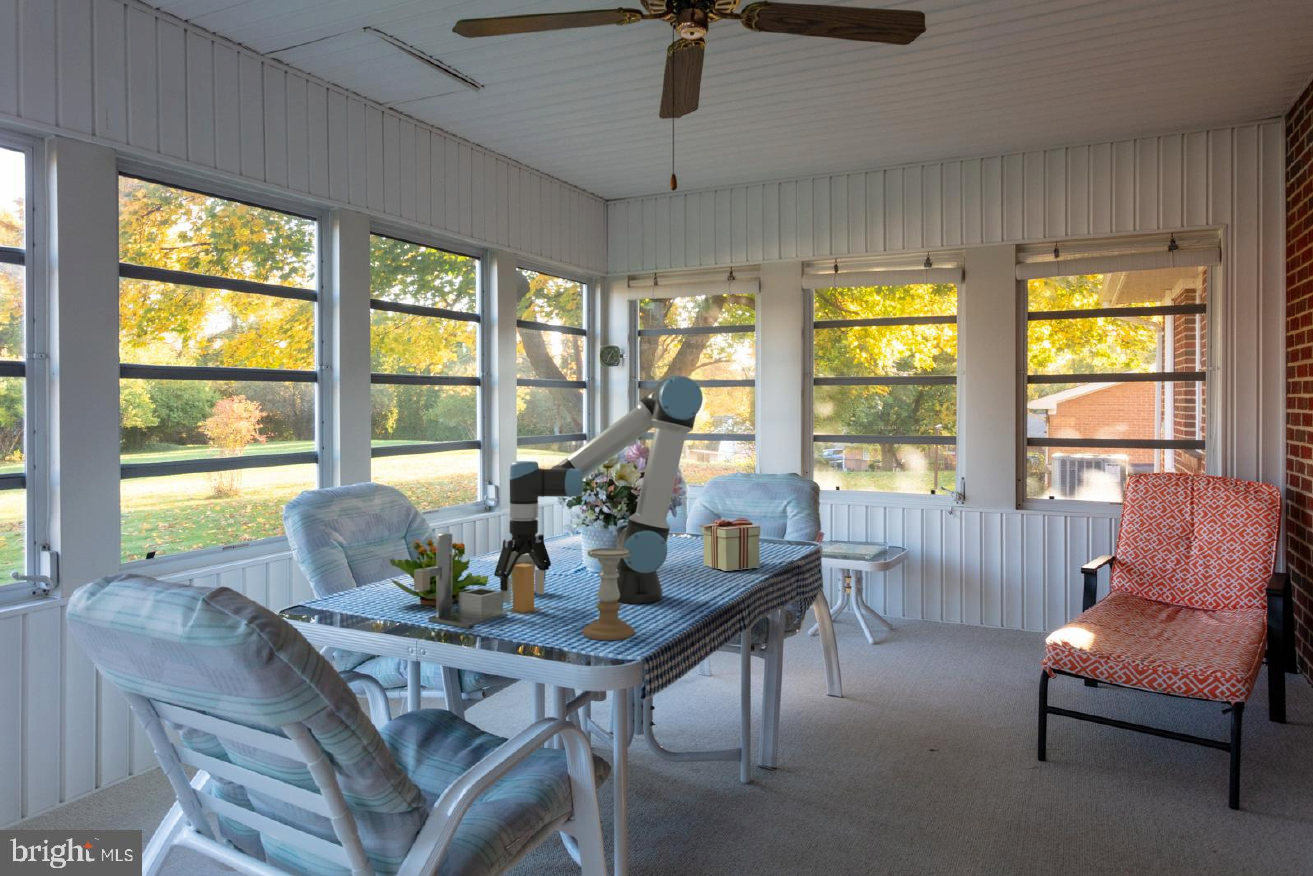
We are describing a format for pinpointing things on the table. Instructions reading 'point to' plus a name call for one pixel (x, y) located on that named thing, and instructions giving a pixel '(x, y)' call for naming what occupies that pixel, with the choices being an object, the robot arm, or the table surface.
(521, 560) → the coffee cup
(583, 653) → the table surface
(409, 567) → the potted flower
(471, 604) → the grey post stand
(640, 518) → the robot arm
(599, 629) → the candle holder
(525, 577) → the tan rectangular bar
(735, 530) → the gift box
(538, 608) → the plate
